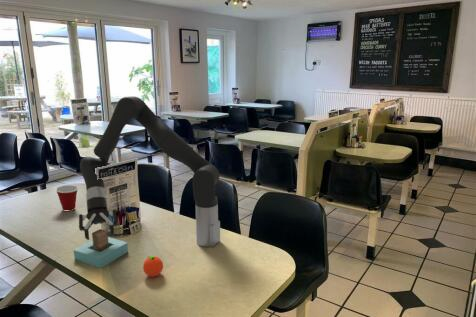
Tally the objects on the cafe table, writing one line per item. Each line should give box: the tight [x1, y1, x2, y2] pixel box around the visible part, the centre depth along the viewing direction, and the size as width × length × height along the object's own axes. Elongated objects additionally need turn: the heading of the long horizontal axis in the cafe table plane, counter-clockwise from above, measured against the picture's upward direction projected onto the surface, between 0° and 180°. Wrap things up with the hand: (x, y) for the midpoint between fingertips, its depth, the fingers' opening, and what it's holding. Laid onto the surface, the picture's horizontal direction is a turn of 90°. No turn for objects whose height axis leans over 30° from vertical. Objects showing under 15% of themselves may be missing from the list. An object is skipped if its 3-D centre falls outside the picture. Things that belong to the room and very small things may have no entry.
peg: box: [91, 228, 109, 252], centre depth 139 cm, size 4×4×10 cm
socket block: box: [73, 236, 129, 269], centre depth 139 cm, size 14×14×4 cm
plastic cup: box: [55, 184, 79, 211], centre depth 184 cm, size 11×11×12 cm
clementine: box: [142, 254, 164, 278], centre depth 126 cm, size 8×7×7 cm
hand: (100, 237), depth 137 cm, fingers open, 8 cm apart
